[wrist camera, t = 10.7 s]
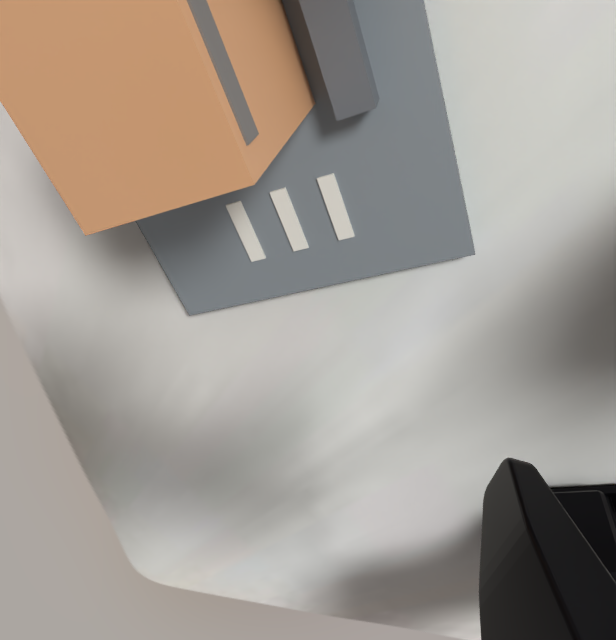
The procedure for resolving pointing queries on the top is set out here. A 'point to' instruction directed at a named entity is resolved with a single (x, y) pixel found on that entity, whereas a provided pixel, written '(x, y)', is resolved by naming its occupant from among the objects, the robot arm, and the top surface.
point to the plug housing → (150, 98)
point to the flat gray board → (333, 172)
